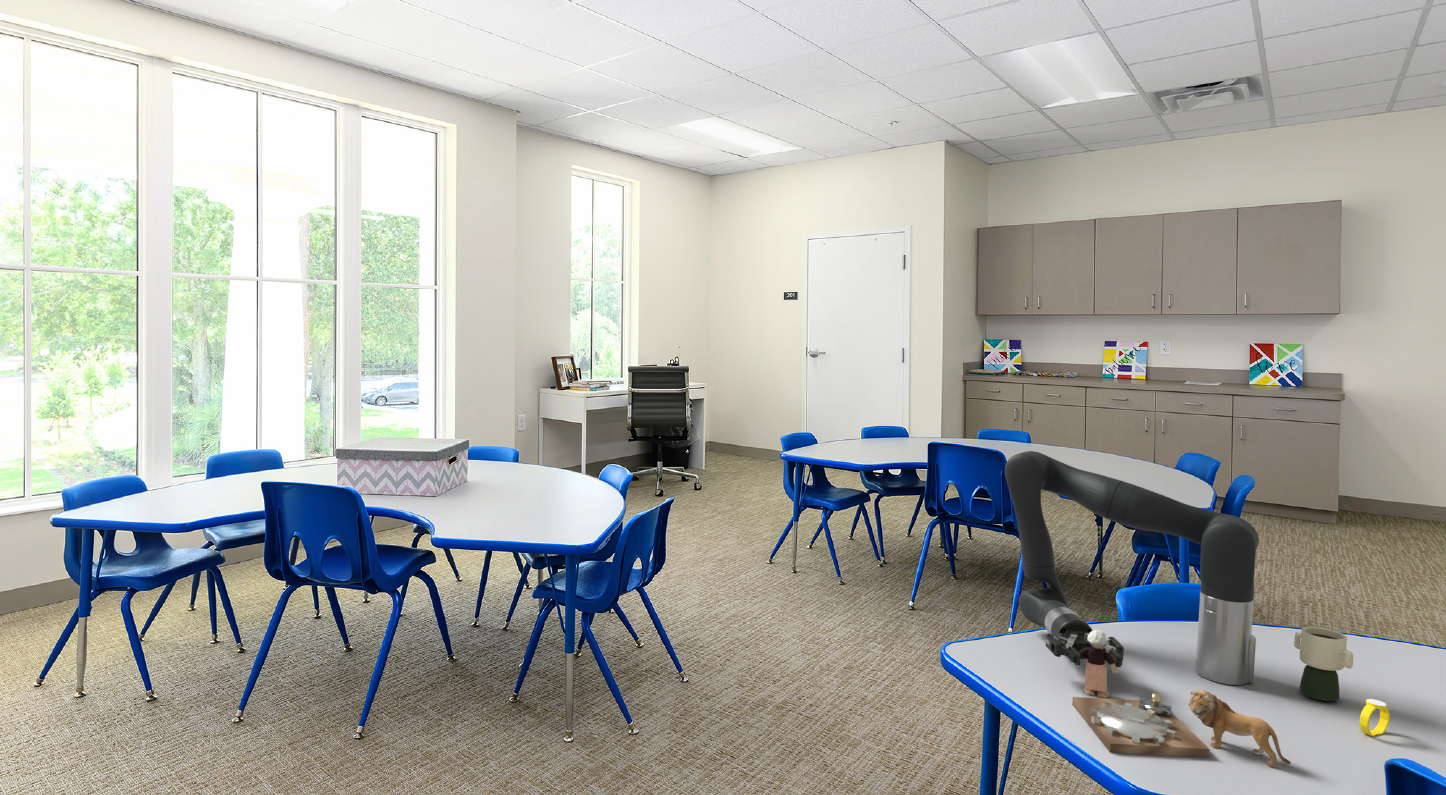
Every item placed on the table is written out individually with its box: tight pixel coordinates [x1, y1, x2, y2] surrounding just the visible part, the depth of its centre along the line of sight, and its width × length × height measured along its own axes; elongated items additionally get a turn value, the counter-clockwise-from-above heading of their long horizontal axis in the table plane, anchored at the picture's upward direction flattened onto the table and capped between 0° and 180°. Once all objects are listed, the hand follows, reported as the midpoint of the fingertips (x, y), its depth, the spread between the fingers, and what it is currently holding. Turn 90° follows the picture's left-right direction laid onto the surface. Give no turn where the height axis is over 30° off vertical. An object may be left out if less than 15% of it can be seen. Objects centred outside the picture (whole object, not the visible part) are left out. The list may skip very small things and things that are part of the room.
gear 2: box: [1139, 692, 1173, 718], centre depth 141 cm, size 6×5×3 cm
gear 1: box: [1090, 702, 1176, 745], centre depth 135 cm, size 13×13×1 cm
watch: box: [1358, 698, 1391, 737], centre depth 136 cm, size 6×3×6 cm, turn 110°
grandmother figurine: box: [1078, 629, 1118, 699], centre depth 150 cm, size 8×4×13 cm, turn 71°
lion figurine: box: [1188, 689, 1292, 768], centre depth 130 cm, size 15×5×9 cm, turn 52°
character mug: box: [1293, 626, 1354, 701], centre depth 150 cm, size 11×7×13 cm, turn 17°
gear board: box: [1071, 696, 1210, 758], centre depth 137 cm, size 16×17×2 cm
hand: (1099, 661), depth 148 cm, fingers closed on grandmother figurine, 7 cm apart
